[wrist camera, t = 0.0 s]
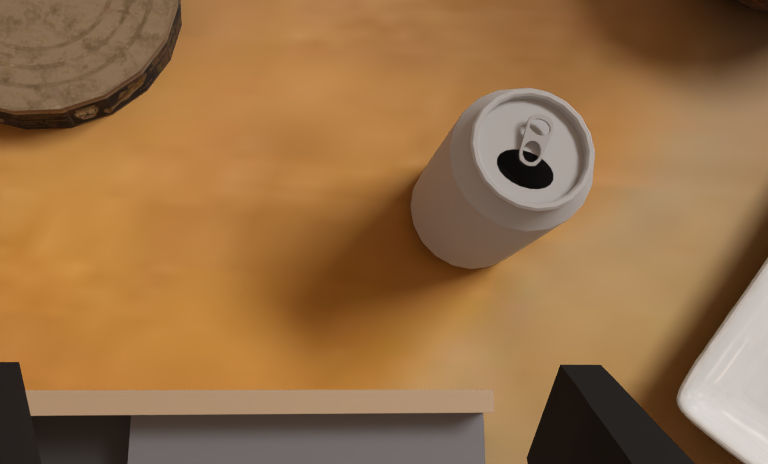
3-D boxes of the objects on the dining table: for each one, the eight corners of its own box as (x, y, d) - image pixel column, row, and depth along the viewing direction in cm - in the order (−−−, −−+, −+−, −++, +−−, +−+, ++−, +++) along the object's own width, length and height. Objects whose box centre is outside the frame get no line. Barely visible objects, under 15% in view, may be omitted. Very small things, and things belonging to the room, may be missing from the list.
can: (392, 247, 45) (439, 189, 33) (427, 140, 47) (483, 50, 35) (504, 288, 45) (589, 245, 34) (535, 181, 47) (624, 106, 36)
